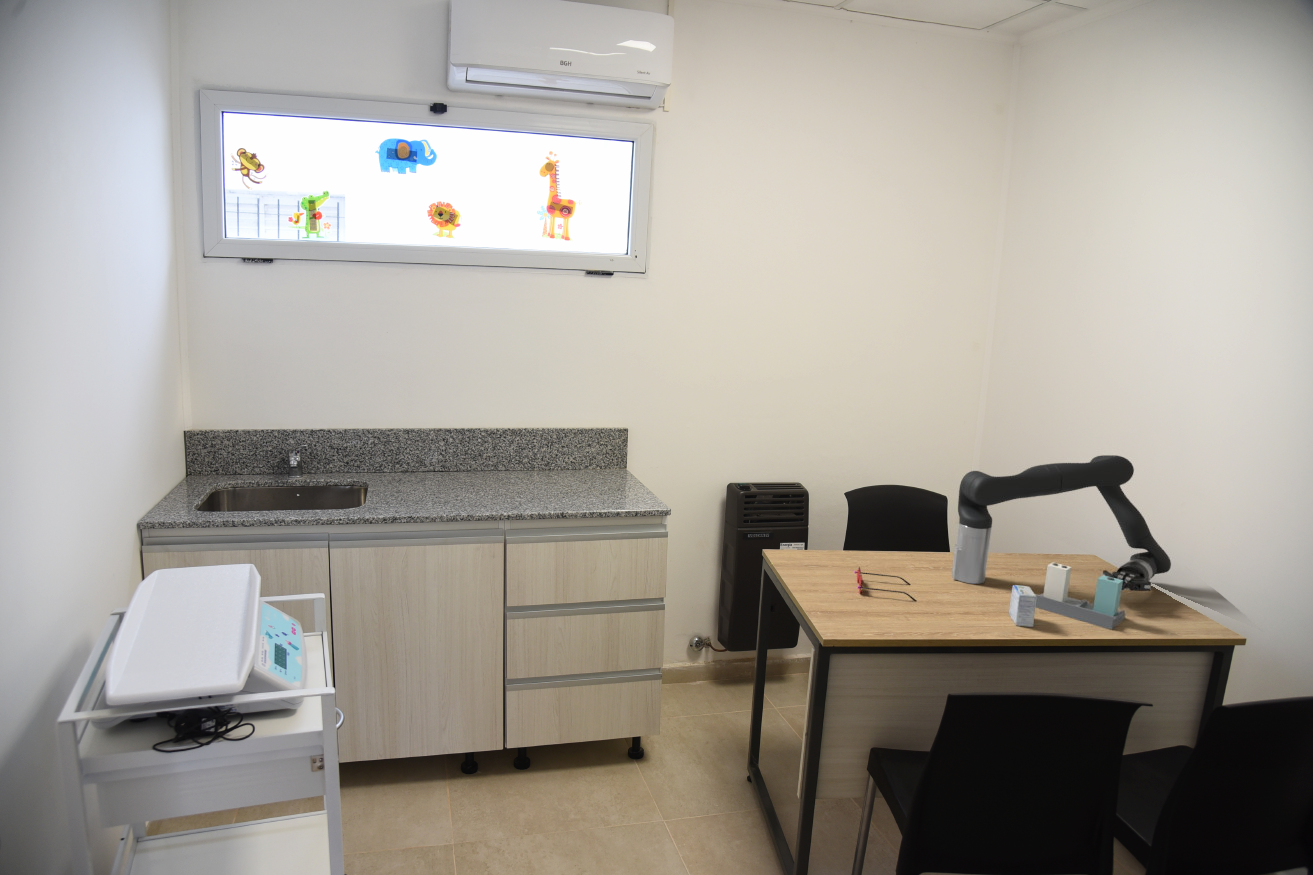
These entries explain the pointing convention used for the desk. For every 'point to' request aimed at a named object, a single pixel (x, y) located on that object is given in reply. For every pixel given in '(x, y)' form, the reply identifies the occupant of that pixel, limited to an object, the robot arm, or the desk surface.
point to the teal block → (1108, 595)
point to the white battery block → (1057, 582)
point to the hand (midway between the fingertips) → (1116, 587)
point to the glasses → (877, 589)
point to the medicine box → (1022, 606)
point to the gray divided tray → (1079, 611)
